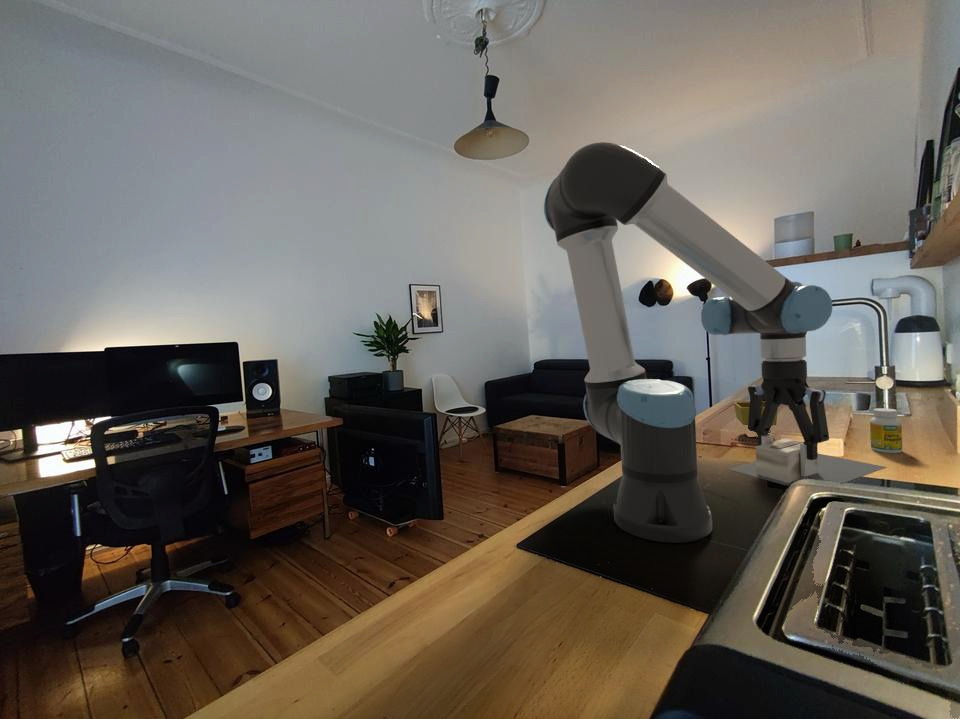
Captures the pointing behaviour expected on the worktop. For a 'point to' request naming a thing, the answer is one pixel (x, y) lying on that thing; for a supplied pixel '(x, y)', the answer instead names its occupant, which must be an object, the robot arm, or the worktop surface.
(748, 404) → the flower pot
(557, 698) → the worktop surface
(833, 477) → the mat
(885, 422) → the supplement bottle
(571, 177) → the robot arm
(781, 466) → the pale grey rectangular box
